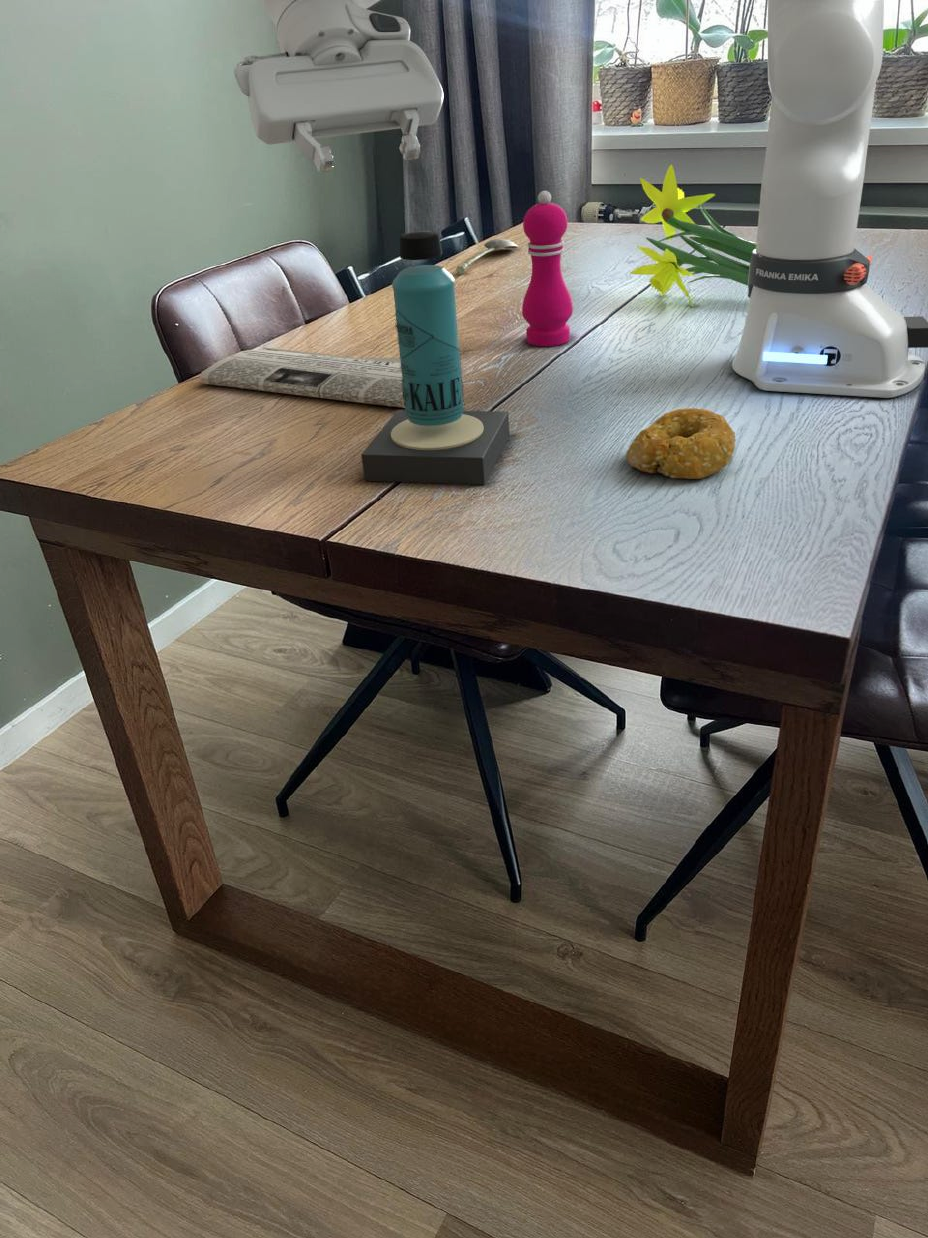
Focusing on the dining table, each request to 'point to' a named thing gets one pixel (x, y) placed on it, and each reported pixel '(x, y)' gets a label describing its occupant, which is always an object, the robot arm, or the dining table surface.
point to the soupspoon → (491, 247)
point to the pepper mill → (546, 275)
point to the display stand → (437, 449)
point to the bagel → (684, 444)
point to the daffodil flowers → (689, 241)
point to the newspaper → (311, 375)
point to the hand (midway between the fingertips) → (370, 161)
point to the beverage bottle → (427, 334)
